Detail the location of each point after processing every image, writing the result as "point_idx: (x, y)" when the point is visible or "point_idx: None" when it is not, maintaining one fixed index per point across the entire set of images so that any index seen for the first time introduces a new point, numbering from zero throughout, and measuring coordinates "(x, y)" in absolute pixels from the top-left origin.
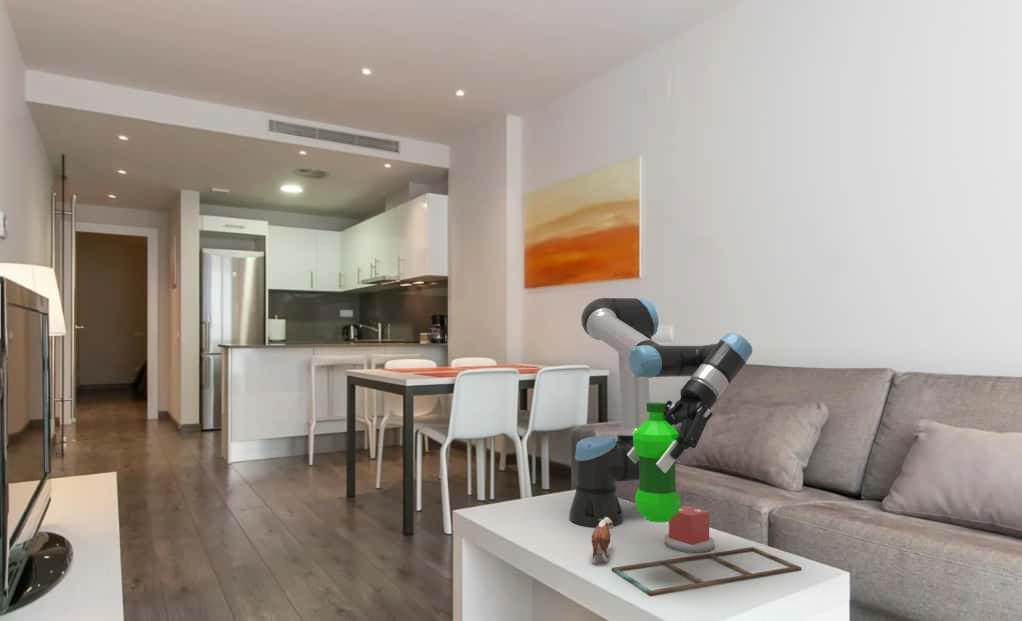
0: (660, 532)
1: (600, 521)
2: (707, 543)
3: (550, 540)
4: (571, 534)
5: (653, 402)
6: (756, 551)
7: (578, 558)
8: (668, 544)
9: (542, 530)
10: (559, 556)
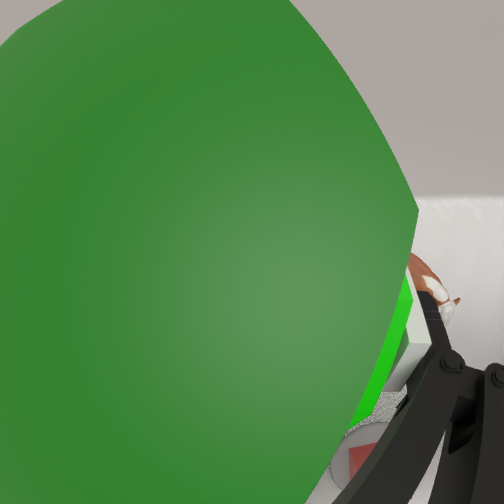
0: (440, 449)
1: (444, 289)
2: (338, 473)
3: (490, 251)
4: (500, 300)
5: (262, 479)
6: None
7: (412, 244)
8: (385, 423)
9: None
10: (429, 221)
